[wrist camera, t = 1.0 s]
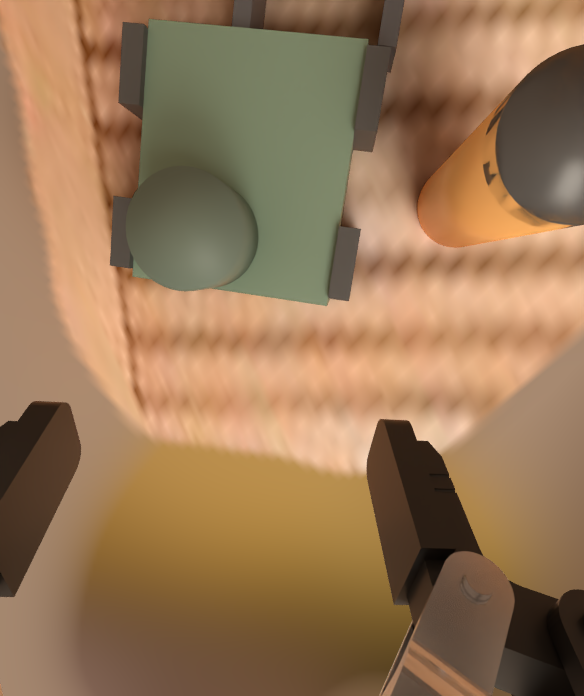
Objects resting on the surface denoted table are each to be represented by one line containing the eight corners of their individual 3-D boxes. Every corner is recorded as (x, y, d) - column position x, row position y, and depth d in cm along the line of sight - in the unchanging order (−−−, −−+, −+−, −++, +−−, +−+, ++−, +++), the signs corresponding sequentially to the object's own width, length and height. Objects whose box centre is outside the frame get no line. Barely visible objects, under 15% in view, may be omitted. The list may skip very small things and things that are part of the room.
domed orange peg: (426, 158, 26) (517, 34, 12) (510, 168, 25) (703, 51, 12) (410, 241, 27) (478, 213, 13) (490, 252, 26) (648, 235, 13)
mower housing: (165, -101, 25) (91, -255, 18) (416, -85, 24) (449, -244, 16) (140, 273, 29) (73, 274, 22) (351, 304, 28) (353, 317, 21)
